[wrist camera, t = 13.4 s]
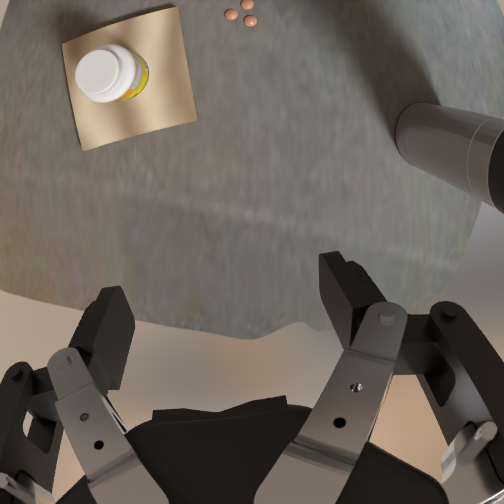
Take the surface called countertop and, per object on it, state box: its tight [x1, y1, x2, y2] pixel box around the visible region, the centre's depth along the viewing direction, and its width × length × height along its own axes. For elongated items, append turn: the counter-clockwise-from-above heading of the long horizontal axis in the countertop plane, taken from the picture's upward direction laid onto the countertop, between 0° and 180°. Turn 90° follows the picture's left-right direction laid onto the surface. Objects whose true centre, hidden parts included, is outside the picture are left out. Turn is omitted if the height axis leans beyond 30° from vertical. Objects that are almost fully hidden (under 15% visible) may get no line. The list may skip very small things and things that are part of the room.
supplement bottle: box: [75, 44, 149, 103], centre depth 24 cm, size 6×6×10 cm
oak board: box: [62, 7, 198, 151], centre depth 29 cm, size 14×14×1 cm
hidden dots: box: [225, 0, 257, 26], centre depth 28 cm, size 3×4×1 cm
